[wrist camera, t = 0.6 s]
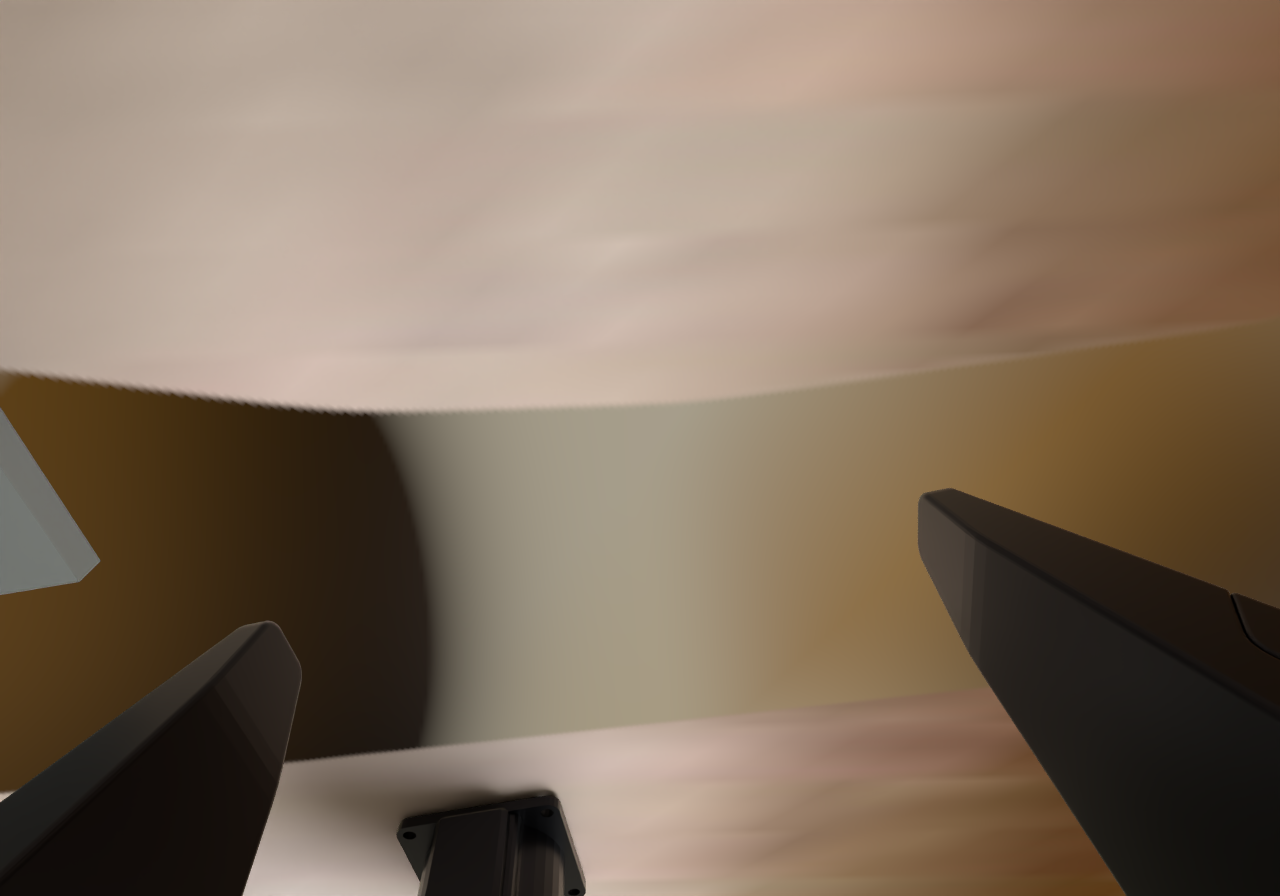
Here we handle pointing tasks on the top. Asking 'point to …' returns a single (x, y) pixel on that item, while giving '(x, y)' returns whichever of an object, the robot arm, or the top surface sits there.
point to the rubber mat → (35, 524)
